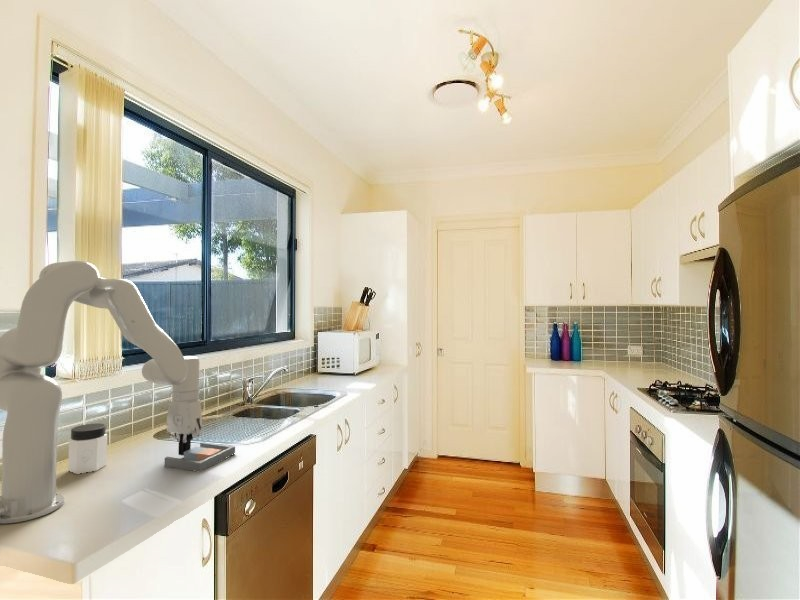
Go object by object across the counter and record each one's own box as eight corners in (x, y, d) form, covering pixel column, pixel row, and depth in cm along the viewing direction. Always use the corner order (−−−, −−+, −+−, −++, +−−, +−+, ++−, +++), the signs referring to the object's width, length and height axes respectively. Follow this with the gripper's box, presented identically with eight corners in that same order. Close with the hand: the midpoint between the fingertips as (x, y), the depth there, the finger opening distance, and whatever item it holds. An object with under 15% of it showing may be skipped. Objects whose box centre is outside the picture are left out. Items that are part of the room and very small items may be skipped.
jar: (66, 476, 115) (67, 433, 115) (69, 466, 122) (70, 425, 122) (105, 469, 120) (106, 428, 120) (107, 460, 127) (108, 421, 127)
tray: (199, 472, 119) (199, 463, 119) (164, 466, 123) (164, 457, 123) (234, 454, 134) (235, 446, 134) (202, 449, 137) (202, 442, 137)
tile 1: (197, 463, 126) (197, 453, 126) (183, 461, 128) (183, 451, 128) (208, 457, 131) (208, 448, 131) (195, 456, 133) (195, 446, 133)
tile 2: (210, 465, 125) (210, 455, 125) (196, 463, 126) (196, 453, 126) (221, 459, 130) (221, 449, 130) (208, 457, 131) (208, 448, 131)
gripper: (156, 396, 129) (155, 455, 129) (195, 400, 125) (194, 461, 125) (176, 391, 136) (175, 447, 136) (213, 395, 132) (212, 452, 132)
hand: (184, 453), depth 130 cm, fingers closed
